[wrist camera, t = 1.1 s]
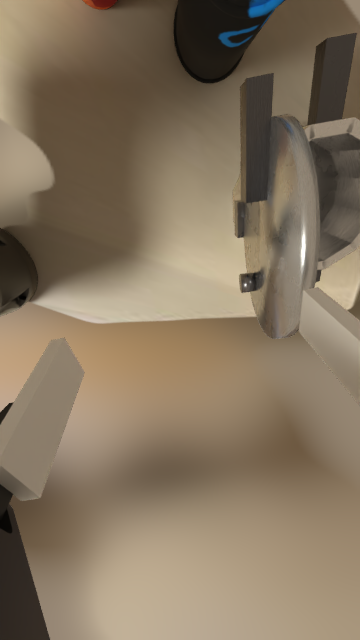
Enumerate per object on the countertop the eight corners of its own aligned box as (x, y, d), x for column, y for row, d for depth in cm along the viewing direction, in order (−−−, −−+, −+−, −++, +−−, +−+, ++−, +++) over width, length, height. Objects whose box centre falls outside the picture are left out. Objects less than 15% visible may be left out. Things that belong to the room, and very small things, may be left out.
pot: (225, 272, 42) (238, 296, 34) (216, 81, 29) (235, 52, 21) (328, 256, 41) (364, 277, 34) (367, 53, 28) (442, 14, 21)
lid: (250, 284, 33) (231, 286, 34) (253, 101, 23) (226, 107, 23) (297, 382, 19) (263, 384, 19) (365, 4, 8) (286, 22, 9)
